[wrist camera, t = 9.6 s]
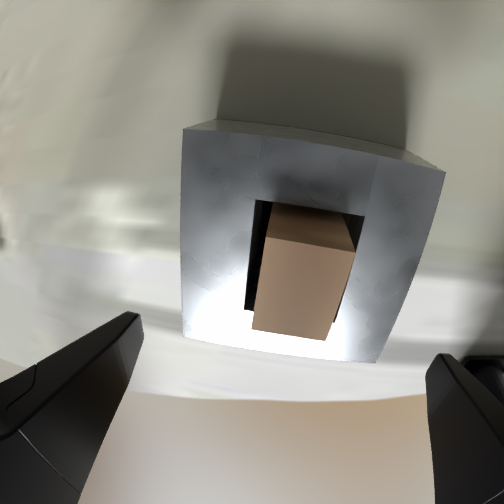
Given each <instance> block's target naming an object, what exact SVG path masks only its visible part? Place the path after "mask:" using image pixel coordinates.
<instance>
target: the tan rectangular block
mask: <svg viewBox="0 0 504 504" xmlns="http://www.w3.org/2000/svg"><path fill="white" fill-rule="evenodd" d="M355 254H356V252H355V249H354V246H353V243H352V240H351V237H350V235H349V232H348V229H347V226H346V223H345V220H344V218H343V215H342V212H337V211H331V210H324V209H318V208H312V207H306V206H299V205H293V204H286V203H279V202H273V206H272V211H271V215H270V220H269V225H268V229H267V234H266V239H265V245H264V251H263V258H262V264H261V270H260V276H259V282H258V288H257V294H256V300H255V306H254V312H253V318H252V324H251V330H256V331H262V332H267V333H273V334H279V335H286V336H292V337H298V338H305V339H312V340H319V341H326V339H327V337H328V334H329V331H330V329H331V326H332V323H333V320H334V317H335V315H336V312H337V309H338V306H339V303H340V300H341V297H342V294H343V291H344V288H345V285H346V282H347V279H348V276H349V273H350V270H351V267H352V263H353V260H354V257H355Z"/></svg>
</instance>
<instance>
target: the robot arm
mask: <svg viewBox="0 0 504 504" xmlns="http://www.w3.org/2000/svg"><path fill="white" fill-rule="evenodd" d="M143 340H144V332H143V325H142V319H141V316H140V314H138V313H134V312H130V311H127V312H125V313H123V314H121V315H119V316H118V317H116V318H114V319H112V320H111V321H109V322H107V323H105V324H104V325H102V326H100V327H98V328H97V329H95V330H93V331H91V332H90V333H88V334H86V335H84V336H83V337H81V338H79V339H78V340H76V341H74V342H72V343H71V344H69V345H67V346H65V347H64V348H62V349H60V350H59V351H57V352H55V353H53V354H52V355H50V356H48V357H46V358H45V359H43V360H41V361H40V362H38V363H37V365H36V364H34V365H33V366H31V367H29V368H27V369H26V370H24V371H22V372H20V373H19V374H17V375H15V376H13V377H11V378H9V379H7V380H5V381H3V382H1V383H0V504H78V501H79V498H80V496H81V494H80V493H82V490H83V488H84V485H85V483H86V480H87V478H88V475H89V473H90V471H91V468H92V466H93V463H94V461H95V459H96V456H97V454H98V451H99V449H100V447H101V445H102V442H103V440H104V437H105V435H106V433H107V431H108V429H109V426H110V424H111V422H112V419H113V417H114V415H115V413H116V411H117V408H118V406H119V404H120V402H121V400H122V397H123V395H124V393H125V391H126V389H127V386H128V384H129V382H130V379H131V376H132V373H133V370H134V367H135V364H136V361H137V358H138V355H139V352H140V349H141V346H142V343H143ZM425 380H426V394H427V414H428V424H429V433H430V441H431V450H432V460H433V472H434V488H435V504H504V356H470V357H467V358H466V359H465V360H464V361H463V362H462V364H460V363H459V362H458V361H457V360H456V359H455V358H454V357H453V356H452V355H450V354H448V353H439V354H438V355H436V357H435V358H434V360H433V362H432V363H431V365H430V367H429V368H428V370H427V372H426V376H425Z"/></svg>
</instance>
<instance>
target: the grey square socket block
mask: <svg viewBox="0 0 504 504" xmlns="http://www.w3.org/2000/svg"><path fill="white" fill-rule="evenodd" d="M445 174H446V172H444V171H442V170H441V169H439V168H437V167H436V166H434V165H432V164H431V163H429V162H427V161H425V160H424V159H422V158H420V157H418V156H416V155H414V154H413V153H411V152H409V151H407V150H404V149H401V148H397V147H392V146H388V145H384V144H380V143H375V142H371V141H366V140H362V139H357V138H352V137H347V136H341V135H336V134H331V133H325V132H319V131H313V130H307V129H300V128H293V127H286V126H279V125H271V124H262V123H253V122H243V121H233V120H220V119H214V120H211V121H207V122H204V123H201V124H197V125H194V126H191V127H188V128H184V129H183V142H182V166H181V209H180V253H181V297H182V322H183V337H188V338H193V339H198V340H203V341H208V342H214V343H219V344H225V345H230V346H236V347H242V348H248V349H255V350H261V351H268V352H275V353H282V354H289V355H297V356H305V357H314V358H323V359H332V360H343V361H354V362H367V363H376V361H377V359H378V357H379V355H380V353H381V351H382V349H383V347H384V345H385V343H386V341H387V339H388V336H389V334H390V332H391V330H392V328H393V326H394V323H395V321H396V319H397V316H398V314H399V312H400V309H401V307H402V305H403V302H404V300H405V297H406V295H407V293H408V290H409V288H410V285H411V282H412V280H413V277H414V275H415V272H416V269H417V266H418V264H419V261H420V258H421V255H422V252H423V249H424V247H425V244H426V241H427V238H428V234H429V231H430V228H431V225H432V222H433V218H434V215H435V212H436V208H437V205H438V201H439V197H440V194H441V190H442V186H443V182H444V178H445ZM263 200H265V201H272V202H279V203H286V204H293V205H299V206H306V207H312V208H318V209H324V210H331V211H337V212H342V215H343V218H344V220H345V223H346V226H347V229H348V232H349V235H350V237H351V240H352V243H353V246H354V249H355V252H356V254H355V257H354V260H353V263H352V267H351V270H350V273H349V276H348V279H347V282H346V285H345V288H344V291H343V294H342V297H341V300H340V303H339V306H338V309H337V312H336V315H335V317H334V320H333V323H332V326H331V329H330V331H329V334H328V337H327V339H326V341H319V340H312V339H305V338H298V337H292V336H286V335H279V334H273V333H267V332H262V331H256V330H251V324H252V318H253V312H254V306H255V300H256V294H257V288H258V282H259V276H260V270H261V264H262V258H258V257H257V248H258V240H259V232H260V223H261V215H262V206H263Z"/></svg>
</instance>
